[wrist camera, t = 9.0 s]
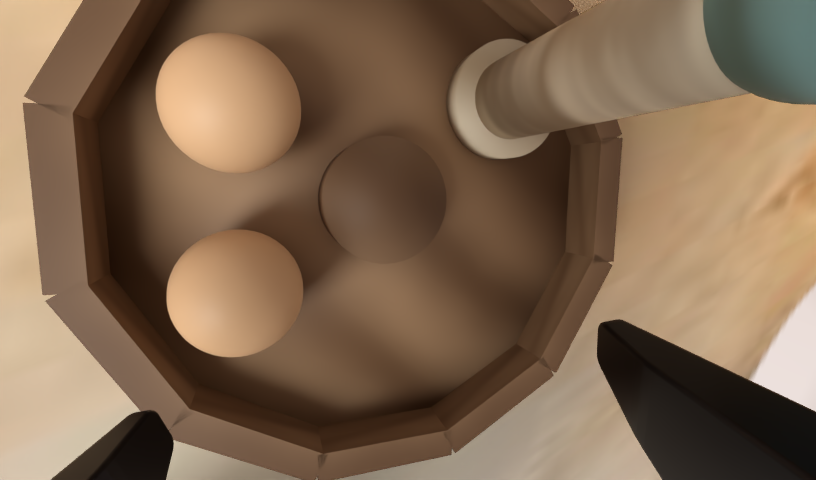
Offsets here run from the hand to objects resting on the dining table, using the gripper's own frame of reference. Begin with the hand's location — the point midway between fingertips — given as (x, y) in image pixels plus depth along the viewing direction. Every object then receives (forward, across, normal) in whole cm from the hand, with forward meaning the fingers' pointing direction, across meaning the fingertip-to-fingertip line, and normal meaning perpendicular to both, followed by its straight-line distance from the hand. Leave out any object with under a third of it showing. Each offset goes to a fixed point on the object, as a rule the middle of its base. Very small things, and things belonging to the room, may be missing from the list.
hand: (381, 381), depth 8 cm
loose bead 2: (+8, +6, +2) cm, 10 cm away
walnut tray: (+12, 0, 0) cm, 12 cm away
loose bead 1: (+10, +4, -4) cm, 12 cm away
